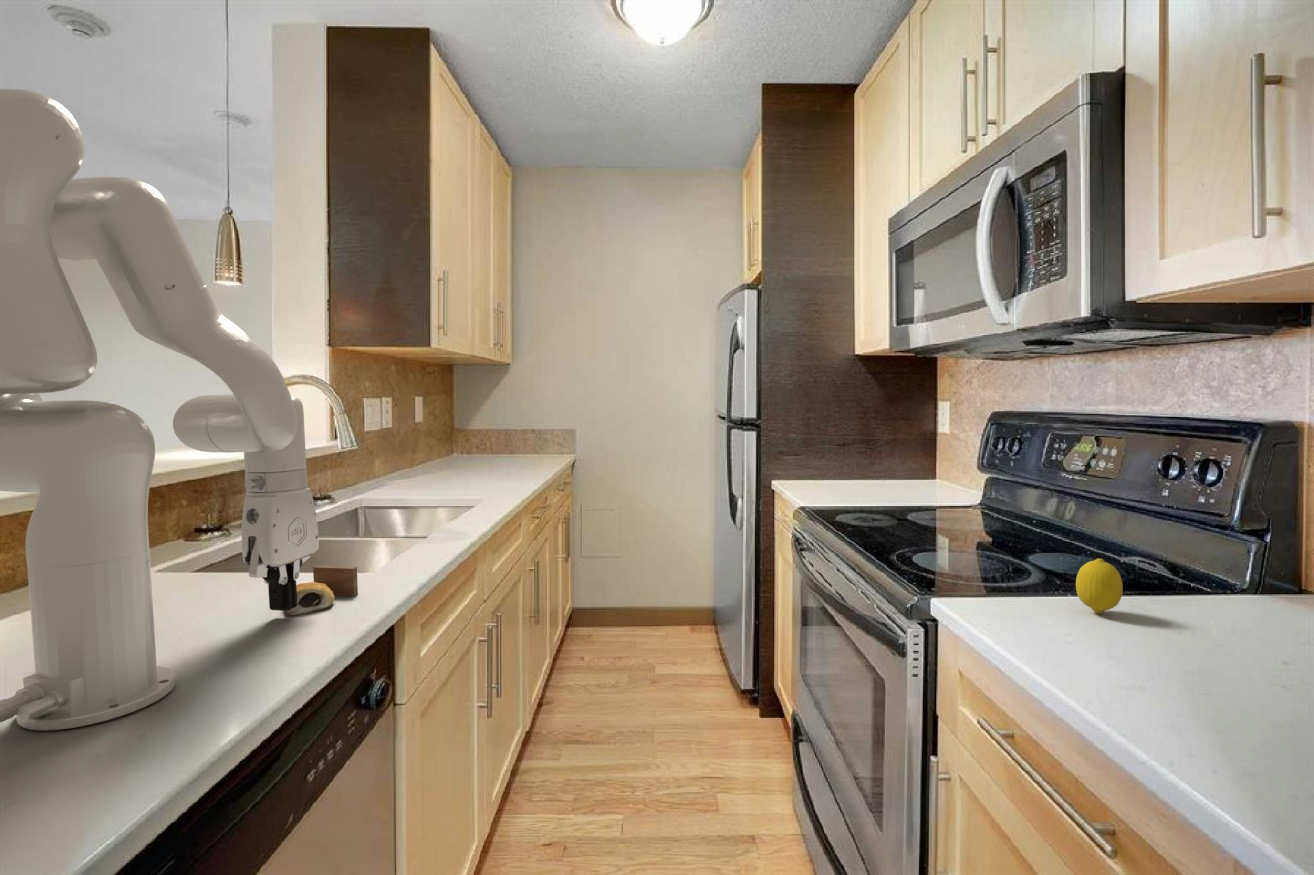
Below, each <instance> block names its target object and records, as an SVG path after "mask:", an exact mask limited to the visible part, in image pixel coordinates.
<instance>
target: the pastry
mask: <svg viewBox="0 0 1314 875" xmlns="http://www.w3.org/2000/svg"><path fill="white" fill-rule="evenodd" d="M296 588H297V607H295V608H292V609H291V610H289V611H286V612H287V614H289V615H290V616H293V615H294V616H296V615H302V614H303V615H304V614H307V613H311V612H313V611H321V610H324V609H326V608H330V607H331V606H332V605H333V604H334V601H335V599H336V598H335V596H334V594H333V591H331V590H330V588H329V587H327V585H326V584H323V583H316V582H314V581H311V582H309V581H308V582H303V583H299V584H296Z"/></svg>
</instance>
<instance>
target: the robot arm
mask: <svg viewBox="0 0 1314 875" xmlns="http://www.w3.org/2000/svg"><path fill="white" fill-rule="evenodd" d="M84 155H85V142H84V138H83V134H82V131H81V128H80V126H79V124H78V122H77V121H76V119H75V118H74V116H73V115H72V114H71V112H70V111H69V110H68V109H67V108H66V107H64V105H62V104H61V103H60V102H58V101H56V100H55V99H53V98H51V97H49V96H47V95H45V94H42V93H39V92H36V91H32V90H28V89H19V88H0V491H1V492H13V493H32V494H33V493H35V494H36V493H38V494H39V495H38V499H37V501H36V503H35V506H34V508H33V510H32V513H31V516H30V519H29V522H28V525H27V530H26V534H25V559H26V560H25V561H26V566H27V567H26V568H27V580H28V593H29V594H28V596H29V606H30V620H31V621H30V622H31V633H32V645H33V660H34V673H33V674H31V675H28V676H24V677H23V678H22V682H23V688H20V689H18V690H17V691H16V692H15V694H14V695H13V696H11V697H9V698H8V697H7V698H4V699H0V723H3V722H6V721H7V720H10V719H12V718H14V716H16V723H17V724H18V726H20V727H22V728H24V729H27V730H32V731H59V730H67V729H74V728H79V727H84V726H90V725H95V724H98V723H99V724H100V723H103V722H107V721H111V720H113V719H117V718H120V717H122V716H126V715H129V714H131V713H134V712H136V711H139V710H142V709H143V708H146V707H148V706H150V705H151V704H154V703H156V702H158V701H160V700H161V699H162V698H164V697H165V696H166V695H168V694H169V693H170V692H171V691H173V689H174V688H175V686H176V673H175V672H174V670H172V669H171V668H168V667H165V666H159V665H158V664H157V651H156V650H157V648H156V635H155V634H156V633H155V632H156V631H155V620H154V619H155V618H154V616H155V615H154V600H153V588H152V587H153V586H152V583H153V582H152V570H151V568H152V567H151V553H150V552H151V551H150V550H151V549H150V542H149V541H150V540H149V520H148V519H149V518H148V517H149V516H148V515H149V509H148V508H149V494H150V488H151V487H150V486H151V480H152V475H153V471H154V465H155V464H154V463H155V459H156V444H155V443H156V442H155V438H154V435H153V432H152V430H151V429H150V427H149V425H148V424H147V422H145V420H144V419H143V418H142V417H141V416H140V415H138V414H137V413H136V412H134V411H133V410H130V409H128V408H126V407H124V406H121V405H119V404H116V403H110V402H106V401H100V400H99V401H98V400H85V399H84V400H81V399H80V400H78V399H77V400H67V399H66V400H45V401H44V400H43V398H42V396H41V394H48V393H56V392H62V391H66V390H67V391H69V390H71V389H73V388H77V387H79V386H80V385H83V384H84V383H86V381H88V380H89V379H91V377H92V376H93V375H94V373H95V372H96V368H97V365H98V352H97V348H96V345H95V343H94V340H93V337H92V334H91V332H90V330H89V327H88V325H87V323H86V320H85V318H84V316H83V314H82V311H81V309H80V307H79V305H78V302H77V300H76V298H75V296H74V293H73V291H72V288H71V286H70V284H69V282H68V280H67V278H66V275H65V272H64V270H63V268H62V265H61V263H60V260H59V259H61V260H69V261H84V260H85V261H87V260H88V261H89V260H96V261H97V264H98V265H99V268H100V269H101V271H102V272H103V274H104V276H105V278H106V280H107V281H108V283H109V285H110V287H111V289H112V291H113V292H114V294H115V296H116V298H117V300H118V302H119V303H120V305H121V308H122V309H123V312H124V314H125V315H126V317H127V319H128V321H129V323H130V325H131V327H132V328H133V330H134V331H135V332H137V333H138V334H139V335H140V336H142V337H144V338H145V339H147V340H149V341H152V342H154V343H155V344H158V345H160V346H162V347H164V348H167V349H169V350H172V351H174V352H176V353H179V354H180V355H183V356H186V357H187V358H190V359H192V360H193V361H196V362H197V363H199V364H201V365H203V366H204V367H206V368H207V369H208V370H210V371H212V372H213V373H214V374H215V375H216V376H217V377H218V378H220V379H221V381H222V382H223V383H224V384H225V385H227V387H228V389H229V390H230V391H231V392H232V393H230V394H208V395H207V394H206V395H205V394H204V395H200V396H199V395H198V396H196V397H193V398H190V399H188V400H187V401H185V402H184V403H182V404H181V405H180V406H179V407H178V408H177V410H175V413H174V415H173V419H172V428H173V432H174V434H175V436H176V438H178V440H179V441H180V442H181V443H182V444H184V445H185V446H186V447H189V448H191V449H192V450H194V451H195V450H196V451H199V452H204V453H205V452H206V453H228V454H229V453H243V458H244V471H245V472H244V477H245V479H244V480H245V481H244V482H243V483H244V484H243V486H244V487H245V496H244V501H243V508H242V517H241V552H242V560H243V562H244V564H245V565H246V566H247V567H249V569H248V570H249V571H248V577H249V578H255V579H256V578H258V579H260V578H261V579H263V581H264V583H265V585H268V586H267V587H268V605H269V610H271V611H284V612H285V611H286V612H287V611H289V610H291V609H292V608H295V607H297V588H296V585H297V580H298V579H299V577H300V568H301V567H302V564H304V563H306V562H307V561H308V560H309V559H310V557H311V556H312V555H313V554H315V553H316V552H317V551H318V550H319V545H320V541H319V538H320V537H319V526H318V519H317V513H316V507H315V506H316V505H315V502H314V498H313V494H312V491H311V488H309V487H308V478H307V477H308V475H307V474H308V473H307V472H308V471H307V457H306V456H307V455H306V435H305V434H306V433H305V416H304V415H305V414H304V405H303V402H302V400H301V399H300V398H298V397H296V396H293V395H291V392H290V390H289V389H288V386H287V384H286V381H285V379H284V376H283V374H282V372H281V370H280V369H279V366H277V364H276V363H275V361H274V360H273V359H272V357H271V356H270V355H269V353H268V352H267V351H265V350H264V349H263V347H261V346H260V345H259V344H258V343H257V342H256V341H255V340H253V338H251V337H250V336H249V335H248V334H247V333H246V332H245V331H244V330H242V328H240V327H239V326H238V325H237V324H236V323H234V322H233V321H231V320H230V319H229V318H227V317H226V316H224V314H223V313H222V312H220V310H219V309H218V308H217V306H216V304H215V302H214V301H213V298H212V297H211V294H210V292H209V290H208V287H207V285H206V283H205V280H204V279H203V276H202V275H201V272H200V270H199V267H198V266H197V263H196V261H195V260H194V257H193V255H192V252H191V251H190V248H189V246H188V243H187V242H186V239H185V237H184V235H183V232H182V231H181V228H180V227H179V224H178V222H177V219H176V218H175V216H174V214H173V211H172V209H171V208H170V206H169V203H168V202H167V200H166V199H165V197H164V196H163V194H161V192H160V191H159V190H157V189H156V188H155V187H154V186H152V185H150V184H148V183H146V182H145V181H141V180H138V179H136V178H129V177H121V176H91V177H81V178H80V177H79V178H74V177H75V176H76V174H78V172H79V170H80V168H81V167H82V165H83V161H84Z"/></svg>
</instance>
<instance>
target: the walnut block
mask: <svg viewBox="0 0 1314 875" xmlns="http://www.w3.org/2000/svg"><path fill="white" fill-rule="evenodd" d="M312 570H313V571H312V575H313V582H316V583H323V584H326V585H327V587H329V588H330V590H331V591H333V594H334V596H336V597H337V596H339V597H356V596H358V595H359V592H358V591H359V589H358V588H359V587H358V585H359V584H358V567H357V566H341V565H339V566H337V565H335V566H334V565H333V566H332V565H316V566H313V567H312Z"/></svg>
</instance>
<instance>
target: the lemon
mask: <svg viewBox="0 0 1314 875" xmlns="http://www.w3.org/2000/svg"><path fill="white" fill-rule="evenodd" d="M1123 587H1124V586H1123V580H1122V577H1121V575H1120V573H1119V571H1118V570H1117V568H1115V566H1113V565H1112V564H1111V563H1109V562H1106V561H1105V560H1104V559H1103V558H1096V559H1095V560H1091V561H1088V562H1086V563H1085V564H1083V565H1082V566H1081V567H1079V570H1078V572H1077V575H1076V579H1075V590H1076V594H1077V597H1078V598H1079V600H1080V602H1082V603H1083V604H1084V605H1085V606H1086V607H1088V608H1090V609H1092V611H1093V612H1094V614H1099V615H1100V614H1102V613H1103V612H1105V611H1108V610H1111V609H1113V608H1115V607H1117V605H1118V604H1119V603H1120V601H1121V599H1122V596H1123V589H1124V588H1123Z"/></svg>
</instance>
